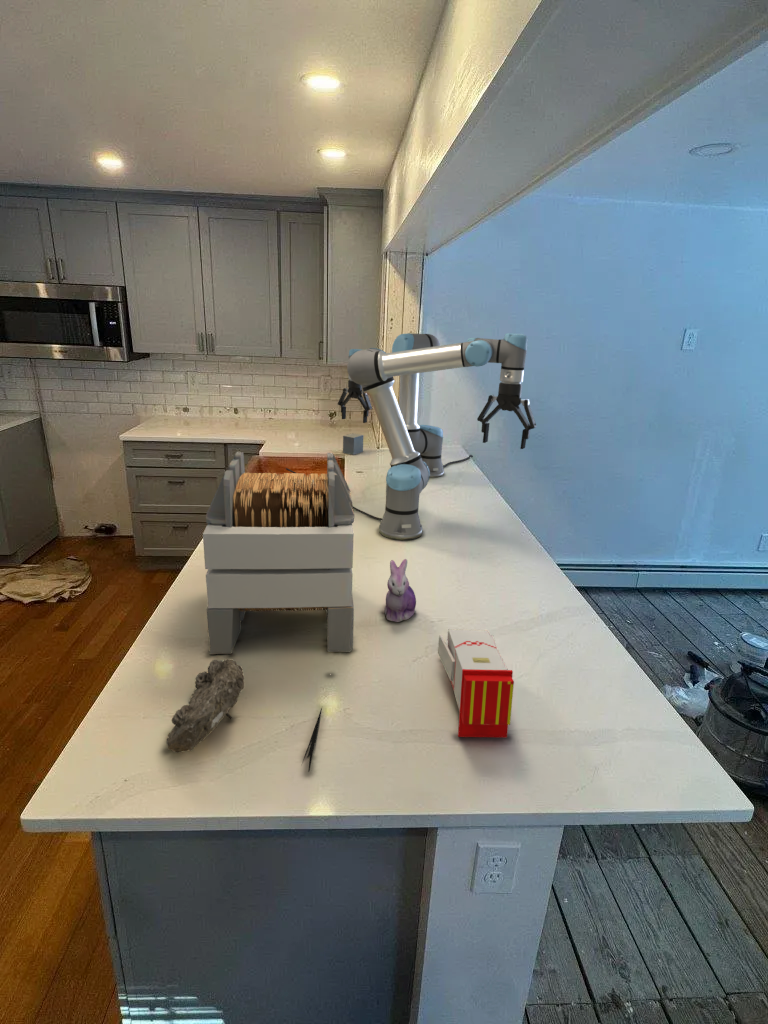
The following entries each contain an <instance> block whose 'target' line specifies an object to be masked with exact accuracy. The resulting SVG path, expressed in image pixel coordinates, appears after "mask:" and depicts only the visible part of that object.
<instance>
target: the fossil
mask: <svg viewBox="0 0 768 1024" xmlns="http://www.w3.org/2000/svg"><path fill="white" fill-rule="evenodd" d="M243 670H244V669H243V667H242V665H240V664H237V662H236V661H235V660H234V659H232V658H231V659H227V658H226V659H224V660H223V661H222V660H217V659H212V660H211V661H210V663H209V665H208V666H207V671H201V672H199V673H198V674H197V675H196V676H195V680H194V684H195V685H194V687H195V689H194V690H193V693H192V694H191V697H190V698H189V700H188V704H184V705H182V706H181V707H180V709H177V710H176V711H175V713H174V715H173V716H172V718H171V723H172V724H173V727H172V730H171V731H170V732H168V734H167V738H166V741H167V742H166V745H167V749H168V750H169V751H173V752H174V753H176V754H178V753H182V752H188V751H189V752H192V751H193V750H195V748H196V747H197V746H199V744H200V743H201V742H203V741H204V740H205V739H206V738H207V737H208V736H209V735H210V734H211V733H212V732H214V730H215V729H217V727H218V726H219V724H220V722H221V721H222V720H223V719H224V718H225V716H226V717H227V719H229V720H233V717H232V715H230V714H229V710H230V709H231V708H234V706H235V704H236V703H237V702H238V699H239V697H240V695H241V693H242V691H243V690H245V689H244V688H245V675H244V671H243Z"/></svg>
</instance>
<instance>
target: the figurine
mask: <svg viewBox="0 0 768 1024" xmlns="http://www.w3.org/2000/svg"><path fill="white" fill-rule="evenodd" d="M407 567H408V559H406V558H404V559H403V560H402V561H401V563H400V565H399V566H398V565H397V563H396V562H395V561H394V560H393V559H391V560H390V561H389V570H390V576H389V578H388V579H387V589H388V591H387V592H386V594H385V595H386V596H385V607H384V615H385V616H386V620H387V621H391V622H395V623H400V622H402V621H406V620H409V619H410V618H411V617H413V616H414V615H415V610H416V606H417V597H416V593H415V591H414V590H413V587H411V586H410V582H409V579H408V577H407V574H406V571H407Z"/></svg>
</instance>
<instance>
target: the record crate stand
mask: <svg viewBox="0 0 768 1024" xmlns="http://www.w3.org/2000/svg"><path fill="white" fill-rule="evenodd" d="M244 455H245V454H244V451H242V452H241V451H236V452H235V454H234V456H233V458H232V459H230V463H229V465H228V467H227V469H226V470H224V473H223V475H222V478H221V479H220V482H219V484H218V487H217V489H216V491H215V494H214V495H213V497H212V500H211V502H210V505H209V507H208V509H207V511H206V515H205V523H206V524H207V525H206V527H205V529H204V531H203V533H202V543H203V558H204V569H205V570H206V573H205V584H206V587H205V588H206V598H207V599H206V601H207V607H206V623H207V634H208V641H209V642H208V643H209V650H208V653H209V655H216V654H217V655H218V654H221V655H222V654H223V655H226V654H227V655H228V654H230V655H231V654H232V653H233V650H234V648H235V647H236V643H237V641H238V638H239V636H240V634H241V630H242V626H241V625H242V623H241V622H243V621H244V618H245V615H246V612H272V611H273V612H279V611H280V612H284V611H286V612H288V611H289V612H291V611H292V612H293V611H294V612H295V611H303V612H304V611H322V610H323V611H326V636H327V637H326V641H327V645H326V646H327V652H329V653H330V652H332V653H333V652H343V653H349V652H351V651H352V650H354V617H355V616H354V614H355V607H354V598H353V575H354V573H353V566H354V563H353V562H354V537H355V536H354V535H355V532H354V527H353V524H354V522H355V511H354V509H353V507H354V506H353V505H354V504H353V500H352V495H351V489H350V487H349V485H348V483H347V480H346V479H345V476H344V474H343V472H342V470H341V467H340V465H339V463H338V461H337V459H336V457H335V455H334V453H333V452H327V453H326V456H327V457H326V468H327V469H326V473H320V474H318V473H307V474H306V473H303V472H302V473H299V472H296V473H292V472H290V473H288V472H283V473H276V472H273V473H271V472H263V473H262V472H259V473H258V472H253V473H252V472H245V468H246V467H245V456H244Z"/></svg>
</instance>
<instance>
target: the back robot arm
mask: <svg viewBox="0 0 768 1024" xmlns="http://www.w3.org/2000/svg"><path fill="white" fill-rule="evenodd" d="M435 346H441V342H440V340H439V339H438V338H437V337H436V336H435V335H433V334H431V333H410V332H409V333H408V332H407V333H400V334H399V335H397V336H396V337H395V339H394V341H393V343H392V346H391V353H392V352H399V351H406V350H413V349H420V348H427V347H435ZM360 350H363V349H362V348H361V349H360V348H351V349H349V351H348V360H349V359H350V357H351V356H352V355H353V354H354V353H355V352H357V351H360ZM347 374H348V373H347ZM347 378H348V380H347V387H348V388H347V387H343V389H342V393H341V395H340V398H339V399H338V402H337V406H340V413H341V420H346V419H347V406H346V405H347V404H348V403H349V401H350V400H351V399H357V400H358V401H359V403H360V404H361V407H362V408H363V410H362V423H363V424H366V423H368V417H369V413H370V410H373V405H372V402H371V399H370V397H369V395H368V394H366V393H364V392H363V389H362V386H361V385H359V384H357V383H355V382H354V381H353V380H352V379H351V378H350V376H349V374H348V375H347ZM419 388H420V373H416V374H408V375H400V376H399V390H398V392H399V393H398V405H399V408H400V411H401V414H402V417H403V419H404V422H405V425H406V428H407V431H408V434H409V436H410V439H411V442H412V445H413V448H414V450H415V451H417V452H419V453H420V455H421V458H422V461H423V462H425V463H426V465H427V466H428V468H429V473H430V476H429V479H430V478H432V479H433V478H440V477H442V476H444V475H445V468H446V467H447V466H449V465H453V464H457V463H462V462H465V461H467V460H469V459H470V458H474V456H473V454H470V455H469V456H467V457H464V458H462V459H459V460H458V459H457V460H453V461H449V462H447V463H445V464H444V465H443V461H442V452H443V441H444V430H443V429H442V428H441V427H438V426H434V425H428V424H418V409H419V408H418V407H419V390H420V389H419Z"/></svg>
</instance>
